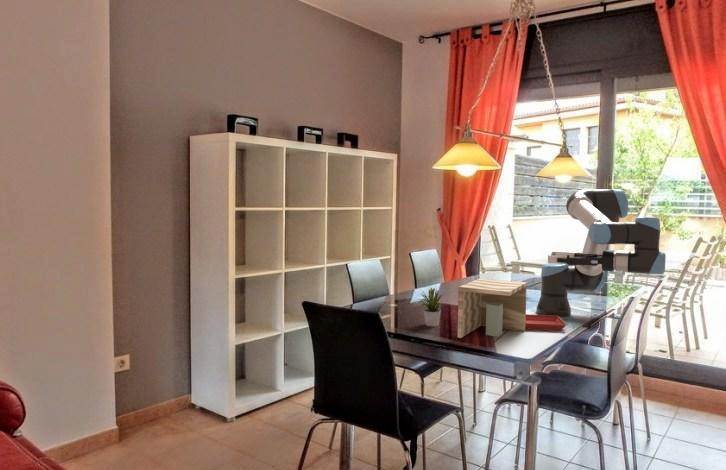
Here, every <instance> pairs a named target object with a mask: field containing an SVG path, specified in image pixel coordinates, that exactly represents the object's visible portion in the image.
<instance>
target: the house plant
mask: <svg viewBox="0 0 726 470" xmlns="http://www.w3.org/2000/svg"><path fill="white" fill-rule="evenodd" d="M418 295H420V296H423V299H419V298H418V300H420V301H418V303H421V307H423V306H424V307H425V309H423V313H424V314H423V315H424V321H425V322H424V323H425V326H427V327H438V326H439V322H440V317H441V309H439V308H440V307H443V305H441V302H443V300H441V301H440V299H441V297H442V296H444V293H442V294H441V295H439V290H437V289H436V287H434V288H432V287H431V286H430V288H429V289H428V296H427V295H426V293H425V291H423V290H422V289H420V293H419V294H418ZM418 303H417V304H418Z"/></svg>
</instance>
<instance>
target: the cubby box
mask: <svg viewBox="0 0 726 470" xmlns="http://www.w3.org/2000/svg"><path fill="white" fill-rule="evenodd" d="M527 283H528V282H525V281H512V280H500V279H491V278H490V279H488V278H478V279H475V280H472V281H470V282H467V283H465V284H463V285H459V286H458V291H457V292H458V293H457V296H458V298H457V303H458V304H457V338H459V339H462V338H464V337H465V336H467V335H468V334H470V333H471V332H473V331H475V330H476V329H478V328H480V327H486V305H487V304H488V303H490V302H492V303H501V304H503V324H502V330H511V331H519V332H526V330H527V329H526V314H527Z"/></svg>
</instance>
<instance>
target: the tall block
mask: <svg viewBox="0 0 726 470" xmlns="http://www.w3.org/2000/svg"><path fill="white" fill-rule="evenodd" d="M502 324H503V304H501V303H492V302H490V303H488V304H487V305H486V326H485V335H486V336H492V337H500V336H502V335H503V328H502Z"/></svg>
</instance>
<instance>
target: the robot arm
mask: <svg viewBox="0 0 726 470" xmlns="http://www.w3.org/2000/svg"><path fill="white" fill-rule="evenodd" d="M565 209H566V212H567V214H568V215H569V216H570V217H571V218H572V219H573V220H576V221H577V220H578V221H579V222H580V223H581V224H582V225H583V226H584V227H586V229H588V231H587V235H586V238H585V242H584V245H583V249H582V252H575V253H574V252H562V251H561V252H558V251H555V255H547V263H545V264H543V265H542V267H541V273H540V277H541V278H540V279H541V280H540V297H539V300H538V302H537V304H536V313H537V314H538V315H555V316H559V317H569V316H571V315H572V309H571V305H570V301H569V298H568V292H589V293H591V292H599V291H600V290H601V289H603V287H604V285H605V281H606V279H605V278H606V272H614V271H615V272H616V273H621V274H622V275H625V274H626V273H629V274H630V273H631V274H641V275H664V274H665V272H666V258H667V257H666V256H667V255H666V252H662V251H660V238H661V237H660V236H661V221H660V220H661V219H660V218H659V217H656V216H637V217H635V219H634V222H633V221H625V222H624V221H623V222H619V221H620V218H621V219H624V218H626V217H628V213H629V201H628V197H627V194H626V192H625V191H624V190H622V189H616V188H610V189H609V188H608V189H607V188H606V189H605V188H604V189H603V188H601V189H599V188H597V189H596V188H591V189H590V188H584V189H579V190H577V191H575V192H574V193H572V194H571V195H570V196H569V197H568V199H567V200H566V204H565ZM607 245H634V247H633V248H634V249H633V251H632V250H622V249H621V250H618V249H617V250H616V251H615V250H613V249H606V248H607Z"/></svg>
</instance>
